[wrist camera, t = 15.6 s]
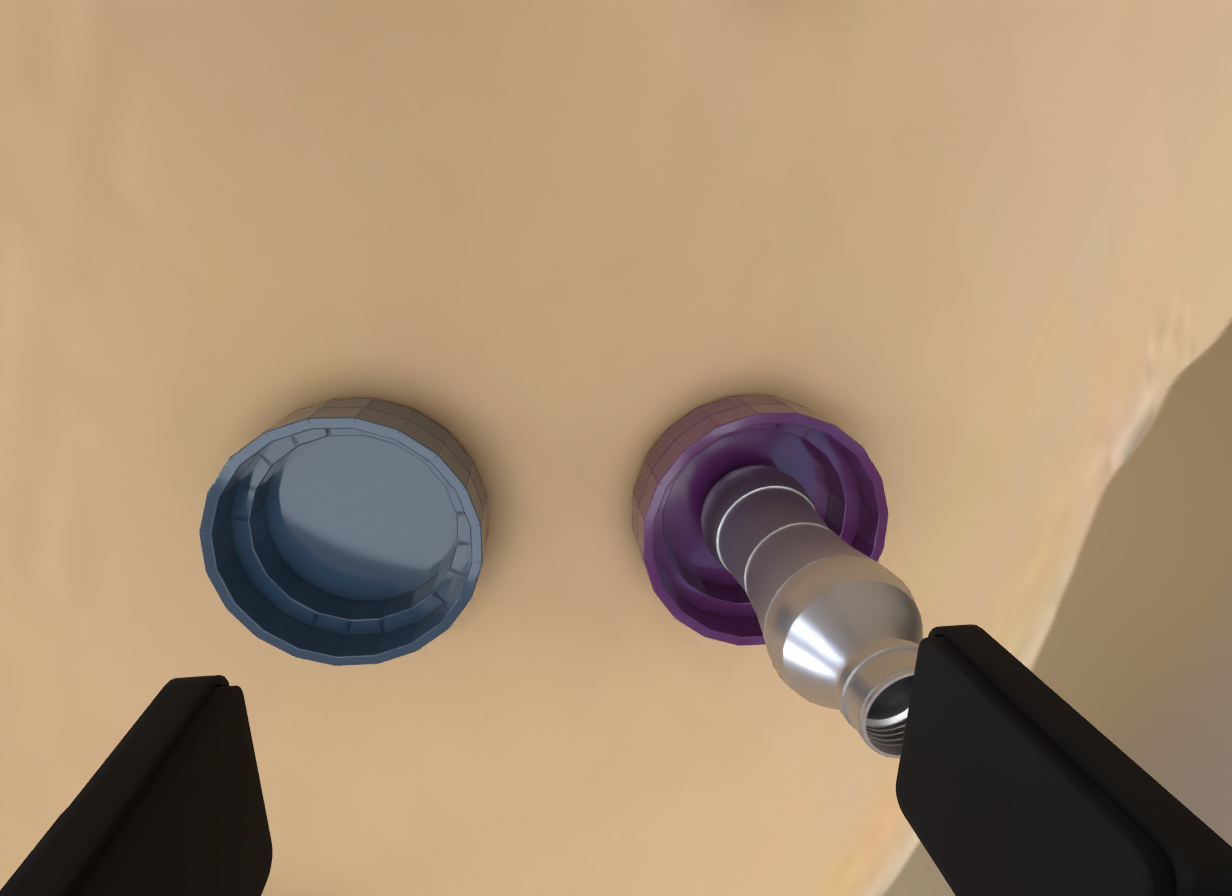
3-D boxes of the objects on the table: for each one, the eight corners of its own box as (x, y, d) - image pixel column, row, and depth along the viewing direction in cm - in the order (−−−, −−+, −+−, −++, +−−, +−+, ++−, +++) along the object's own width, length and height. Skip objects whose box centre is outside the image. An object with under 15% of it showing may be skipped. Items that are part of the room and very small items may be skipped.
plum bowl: (634, 394, 40) (647, 414, 36) (861, 393, 42) (903, 411, 37) (628, 607, 44) (639, 651, 40) (836, 598, 46) (871, 639, 41)
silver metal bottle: (815, 499, 43) (1037, 700, 24) (739, 573, 44) (895, 822, 25) (748, 433, 41) (931, 594, 22) (670, 511, 42) (781, 729, 23)
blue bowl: (224, 397, 38) (179, 419, 33) (483, 395, 39) (476, 416, 35) (257, 623, 42) (222, 672, 37) (492, 613, 43) (486, 658, 39)
